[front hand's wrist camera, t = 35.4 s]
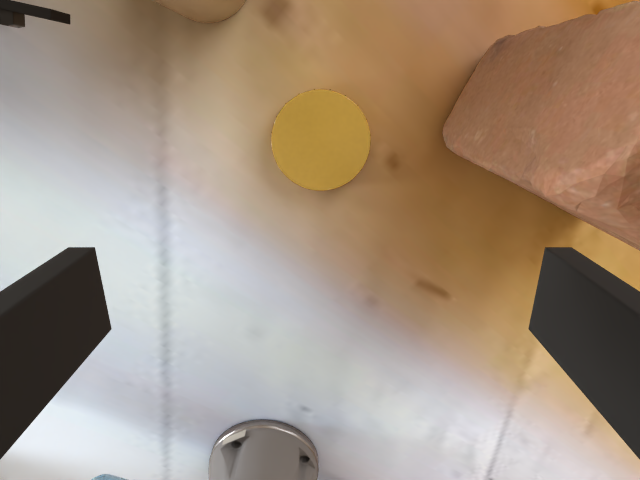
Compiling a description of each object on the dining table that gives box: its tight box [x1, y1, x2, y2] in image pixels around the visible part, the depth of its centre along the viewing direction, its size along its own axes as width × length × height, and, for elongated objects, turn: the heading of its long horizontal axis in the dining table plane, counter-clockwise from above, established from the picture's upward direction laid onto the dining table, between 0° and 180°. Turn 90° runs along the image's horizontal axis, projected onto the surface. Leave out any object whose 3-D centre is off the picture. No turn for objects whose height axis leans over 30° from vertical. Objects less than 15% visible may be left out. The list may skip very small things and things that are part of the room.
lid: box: [271, 89, 371, 191], centre depth 43 cm, size 10×10×2 cm
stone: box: [443, 1, 640, 250], centre depth 31 cm, size 22×11×28 cm, turn 63°
